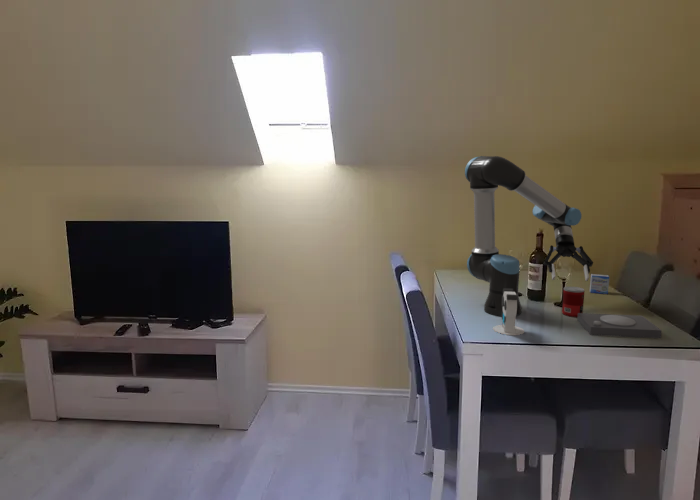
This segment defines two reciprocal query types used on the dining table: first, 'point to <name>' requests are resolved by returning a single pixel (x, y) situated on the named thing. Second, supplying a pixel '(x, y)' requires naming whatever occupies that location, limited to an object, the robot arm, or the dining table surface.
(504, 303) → the white upright stand
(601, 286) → the medicine box
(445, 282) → the dining table surface
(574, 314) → the canned food
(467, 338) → the dining table surface
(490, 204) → the robot arm
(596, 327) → the mount
